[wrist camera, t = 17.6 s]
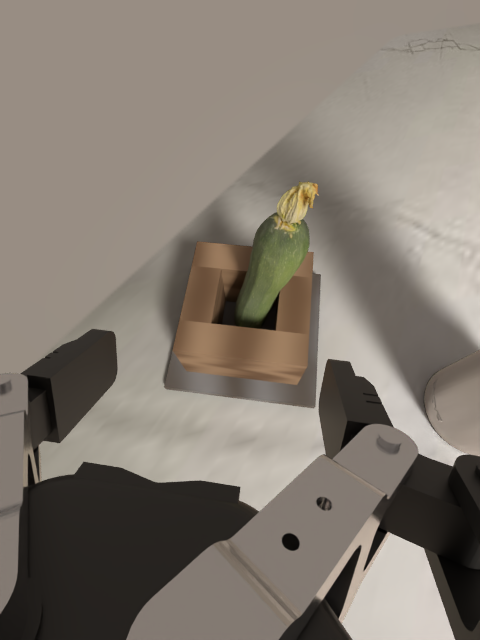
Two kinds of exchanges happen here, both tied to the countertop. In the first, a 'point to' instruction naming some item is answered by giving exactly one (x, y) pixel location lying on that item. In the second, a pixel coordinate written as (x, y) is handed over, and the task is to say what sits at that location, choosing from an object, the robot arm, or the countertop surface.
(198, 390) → the holder
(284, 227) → the vegetable
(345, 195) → the countertop surface
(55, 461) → the countertop surface
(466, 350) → the countertop surface
